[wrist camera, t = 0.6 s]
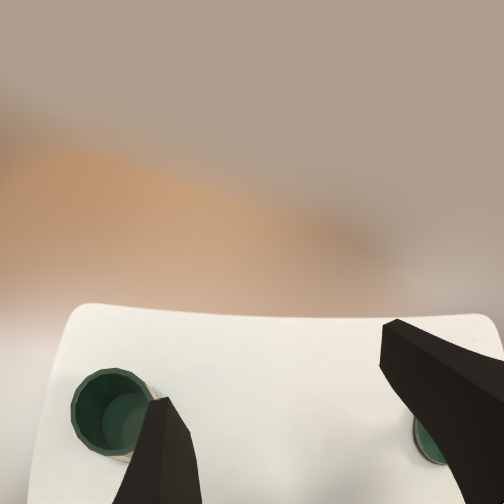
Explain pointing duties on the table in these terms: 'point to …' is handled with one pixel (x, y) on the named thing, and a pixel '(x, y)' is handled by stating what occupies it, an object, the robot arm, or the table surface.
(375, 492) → the table surface
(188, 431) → the robot arm
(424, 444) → the lid
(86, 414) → the pot
